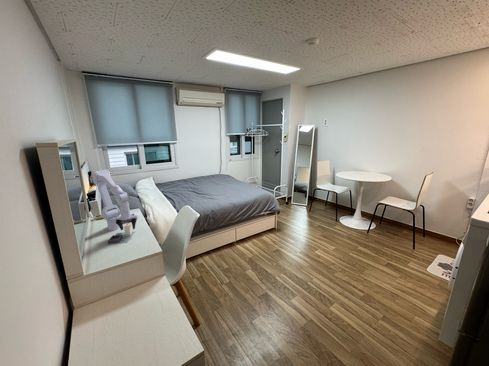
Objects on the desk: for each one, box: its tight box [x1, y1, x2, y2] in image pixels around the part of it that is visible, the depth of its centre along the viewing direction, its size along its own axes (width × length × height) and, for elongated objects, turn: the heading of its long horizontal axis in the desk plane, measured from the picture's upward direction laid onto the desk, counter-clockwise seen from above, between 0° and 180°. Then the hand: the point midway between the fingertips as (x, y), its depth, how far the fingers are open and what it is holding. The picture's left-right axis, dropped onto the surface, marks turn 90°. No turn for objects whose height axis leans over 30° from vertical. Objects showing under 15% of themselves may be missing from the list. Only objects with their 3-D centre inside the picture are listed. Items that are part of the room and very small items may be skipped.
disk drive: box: [122, 213, 135, 225], centre depth 168 cm, size 10×3×15 cm
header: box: [107, 234, 123, 245], centre depth 137 cm, size 7×6×2 cm
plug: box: [123, 223, 133, 236], centre depth 144 cm, size 4×3×7 cm
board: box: [106, 231, 136, 245], centre depth 140 cm, size 15×12×2 cm
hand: (128, 229), depth 144 cm, fingers open, 7 cm apart
